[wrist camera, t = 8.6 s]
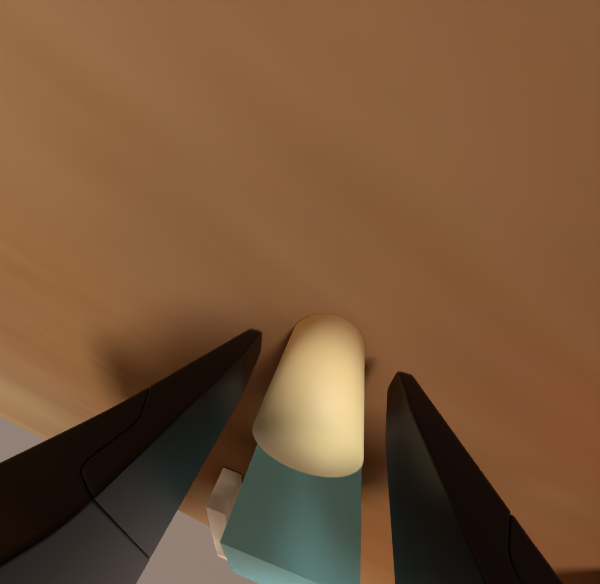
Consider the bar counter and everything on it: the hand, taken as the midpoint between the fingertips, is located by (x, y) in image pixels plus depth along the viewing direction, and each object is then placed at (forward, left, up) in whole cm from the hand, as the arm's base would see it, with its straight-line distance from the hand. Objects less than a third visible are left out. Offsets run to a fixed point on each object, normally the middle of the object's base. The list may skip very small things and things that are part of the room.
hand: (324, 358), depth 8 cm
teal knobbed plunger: (+1, -7, -2) cm, 7 cm away
